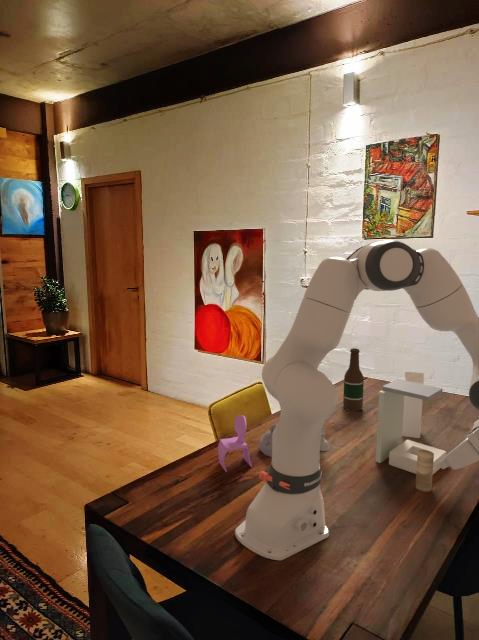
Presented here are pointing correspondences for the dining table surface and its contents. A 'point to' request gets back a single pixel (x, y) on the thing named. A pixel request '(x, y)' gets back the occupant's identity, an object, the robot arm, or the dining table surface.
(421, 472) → the peg
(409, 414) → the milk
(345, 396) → the beer bottle
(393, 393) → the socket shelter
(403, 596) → the dining table surface
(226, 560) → the dining table surface
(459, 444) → the robot arm
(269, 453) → the grey conch shell
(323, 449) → the chalice
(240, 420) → the toy chair
